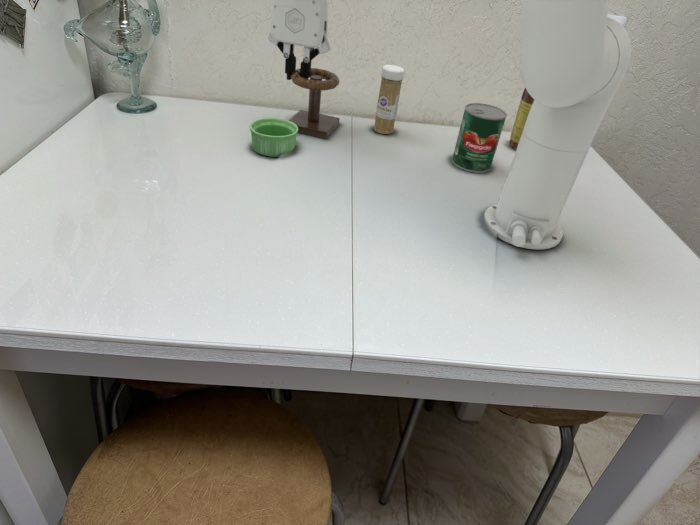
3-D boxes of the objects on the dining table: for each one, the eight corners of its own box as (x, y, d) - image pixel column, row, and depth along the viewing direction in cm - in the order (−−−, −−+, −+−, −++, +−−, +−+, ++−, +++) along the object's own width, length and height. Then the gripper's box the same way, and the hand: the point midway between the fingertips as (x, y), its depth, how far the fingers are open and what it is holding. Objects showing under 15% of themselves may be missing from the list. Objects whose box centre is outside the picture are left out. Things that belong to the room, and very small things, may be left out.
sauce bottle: (533, 143, 111) (565, 51, 99) (538, 155, 106) (574, 59, 94) (504, 139, 111) (533, 47, 99) (508, 150, 106) (540, 54, 94)
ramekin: (261, 135, 98) (261, 114, 96) (303, 145, 97) (305, 123, 94) (241, 152, 91) (241, 129, 89) (286, 162, 90) (287, 140, 87)
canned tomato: (477, 154, 103) (492, 102, 96) (498, 172, 97) (515, 118, 90) (444, 156, 100) (457, 102, 94) (463, 174, 94) (478, 118, 88)
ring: (330, 95, 95) (331, 85, 94) (283, 85, 96) (283, 75, 95) (343, 81, 102) (344, 73, 101) (300, 72, 104) (301, 63, 103)
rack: (326, 139, 100) (330, 87, 94) (285, 129, 102) (286, 78, 95) (339, 124, 107) (344, 75, 101) (300, 116, 109) (303, 67, 103)
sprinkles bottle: (370, 131, 106) (379, 67, 98) (376, 125, 110) (386, 62, 101) (390, 136, 105) (401, 72, 97) (396, 129, 109) (407, 67, 101)
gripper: (252, -30, 87) (253, 76, 98) (338, -15, 84) (329, 92, 96) (269, -33, 93) (268, 67, 104) (350, -19, 90) (340, 82, 101)
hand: (297, 78), depth 100 cm, fingers closed on ring, 2 cm apart
